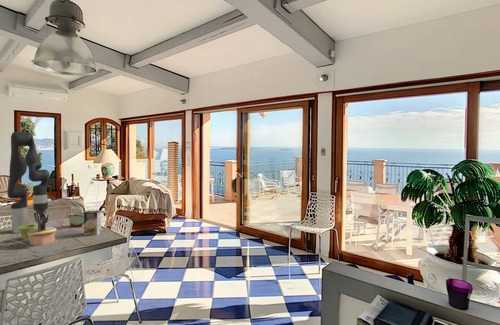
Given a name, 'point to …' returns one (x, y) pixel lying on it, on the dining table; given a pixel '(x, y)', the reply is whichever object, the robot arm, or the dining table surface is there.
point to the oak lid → (41, 232)
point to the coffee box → (92, 222)
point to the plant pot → (26, 230)
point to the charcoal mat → (67, 234)
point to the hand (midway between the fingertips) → (41, 229)
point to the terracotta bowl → (41, 239)
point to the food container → (76, 219)
